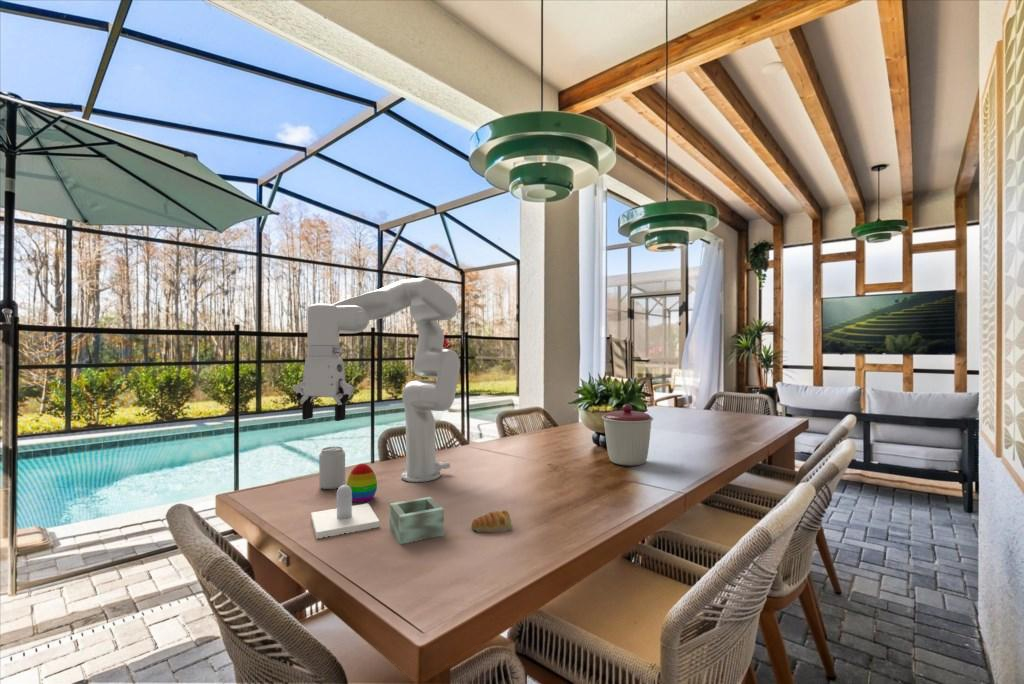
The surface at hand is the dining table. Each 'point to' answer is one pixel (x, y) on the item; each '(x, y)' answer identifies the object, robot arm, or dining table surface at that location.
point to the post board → (344, 525)
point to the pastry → (493, 522)
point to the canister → (627, 436)
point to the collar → (416, 520)
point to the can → (331, 467)
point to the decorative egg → (362, 483)
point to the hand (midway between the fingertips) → (323, 419)
